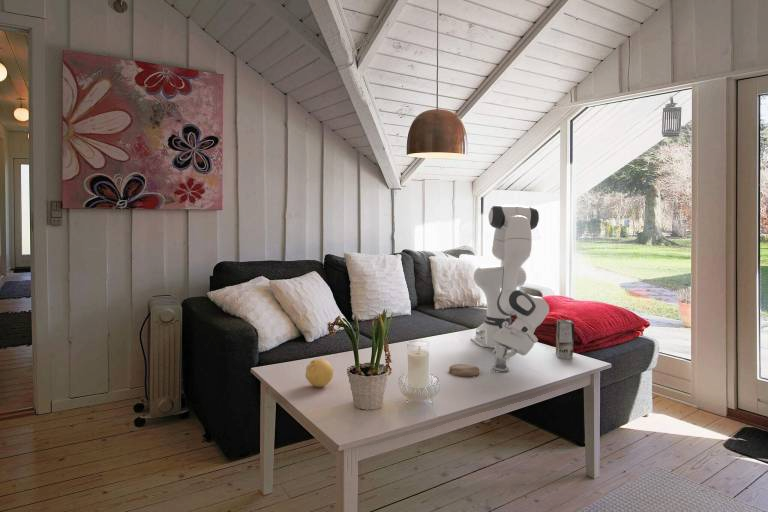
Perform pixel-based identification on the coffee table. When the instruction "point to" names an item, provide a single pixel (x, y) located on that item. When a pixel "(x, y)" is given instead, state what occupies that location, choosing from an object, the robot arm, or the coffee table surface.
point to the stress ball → (319, 372)
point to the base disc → (464, 370)
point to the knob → (501, 359)
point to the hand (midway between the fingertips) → (499, 355)
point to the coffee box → (565, 338)
